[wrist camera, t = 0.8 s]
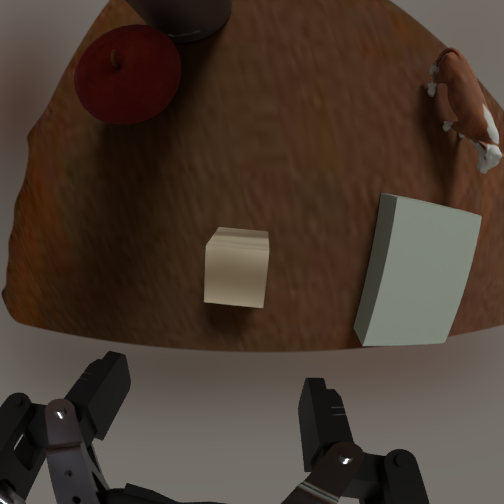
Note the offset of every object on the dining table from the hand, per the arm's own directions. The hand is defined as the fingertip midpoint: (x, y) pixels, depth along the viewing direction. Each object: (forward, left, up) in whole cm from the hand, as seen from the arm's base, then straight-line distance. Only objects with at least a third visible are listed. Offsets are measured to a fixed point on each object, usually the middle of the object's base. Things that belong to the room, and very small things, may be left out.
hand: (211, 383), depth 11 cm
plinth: (0, +20, -19) cm, 28 cm away
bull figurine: (-19, +22, -20) cm, 35 cm away
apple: (-17, -11, -20) cm, 28 cm away
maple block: (0, 0, -19) cm, 19 cm away
